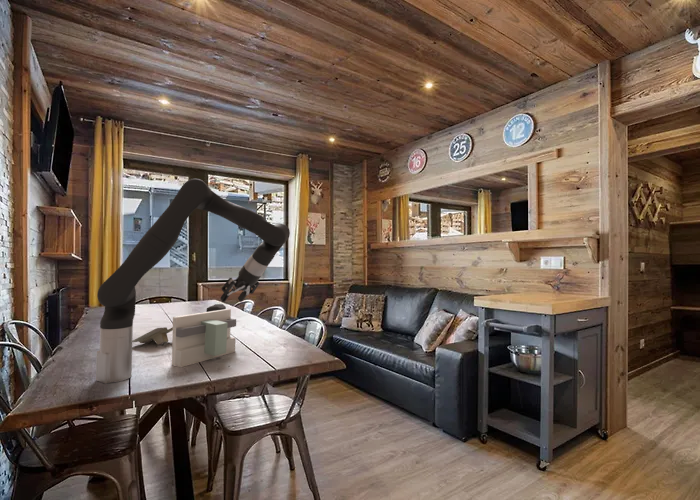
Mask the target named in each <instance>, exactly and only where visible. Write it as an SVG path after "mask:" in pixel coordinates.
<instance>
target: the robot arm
mask: <svg viewBox="0 0 700 500" xmlns="http://www.w3.org/2000/svg"><path fill="white" fill-rule="evenodd" d="M196 209H199V210H201V211H206V212H208V213H212V214H213V215H217V216H219V217H221V218H223V219H226V220H227V221H229V222H231V223H233V224H235V225H236V226H238V227H240V228H241V229H244V230H246V231H248V232H249V233H253V234H254V235H256V236H257V237H258V238H259V239H261V240H262V242H261V243H260V244H259V245H258V246H257V247H256V248H255V250H254V251H253V252H252V254H251V255H250V256H249V257H248V258H247V260H246V262H244V264H243V266H242V267H241V268H240V270H239V271H238V277H237V278H235V279H233V277H229V278H228V279H227V280H226V281H225V283H224V285H223V286H222V287H221V288H220V289H221V291H222V295H221V296H220V301H221V303H226V301H227V300H228V299H229V297H230V295H232V294H233V293H234V294H235V293H237V292H238V291H241V293H239V295H238V297H237V300H238V301H239V302H240V303H242V302H243V301H244V300H245V299H246V297H247V296H249V295H253V294H254V292H255V291H256V289H257V288H258V287H259V285H260V282H259V280H260V278H262V276H263V274H264V273H265V271H267V268H268V266H269V265H270V263H271V262H272V261H273V260H274V257H276V255H277V253H278V251H280V250H281V248H282V247H283V246H284V245H285V244H286V243H287V241H288V240H289V237H290V234H291V231H290V228H289V227H288V226H287V225H286V224H285V223H277V224H274V225H273V224H272V223H270V222H269V221H267V219H266V217H265V216H263V215H261V214H259V213H257V212H255V211H254V210H252V209H249V208H247V207H245V206H242V205H239V204H236V203H233V202H231V201H228V200H227V199H225V198H223V197H221V196H220V195H219V194H217V193H215V192H214V191H213V190H212V189H211V188H210V187H209V185H208V184H207V183H206V182H205V181H203V180H202V179H200V178H192V179H188V180H187V181H186V182H184V183H183V185H182V186H181V187H180V188H179V190H178V192H177V193H176V195H175V196H174V198H173V199H172V201H171V202H170V203H169V205H168V206H167V208H165V210H164V211H163V212H162V214H160V216H159V217H158V218H157V219H156V221H155V222H154V223H153V224H152V226H150V228H149V229H148V230H147V231H146V233H144V234H143V236H142V237H141V238H140V240H139V241H138V242H137V243H136V245H135V246H134V248H133V249H132V250H131V252H130V253H129V254H128V255H127V257H126V259H125V260H124V261H123V262H122V264H121V265H120V266H119V267H118V268H117V269H116V270H115V271H114V272H113V273H112V274H111V275H110V276H108V278H107V279H106V280H105V281H103V282H102V284H101V285H100V286H99V288H98V290H97V300H98V303H99V304H100V305H102V306H103V307H104V311H103V315H102V316H101V319H100V322H99V350H97V351H96V356H95V357H96V360H95V361H96V362H95V363H96V364H95V381H97V382H99V383H102V384H110V383H117V382H121V381H125V380H128V379H130V378H131V377H132V375H133V373H132V371H133V342H132V341H133V333H134V332H133V331H134V329H133V328H134V327H133V325H134V319H135V314H136V302H137V301H136V300H137V292H136V291H137V289H136V286H137V284H138V283H139V281H140V280H141V279H142V278H143V277H144V276H145V275H146V274H147V273H148V272H149V271H151V270H152V269H153V268H154V267H155V266H156V265H157V264H158V263H159V262H160V261H161V260H162V259H164V257H166V255H168V253H169V252H170V251H171V249H172V248H173V247H174V245H175V244H176V243H177V241H178V239H179V237H180V235H181V232H182V231H183V228H184V224H186V223H185V222H186V221H187V219H188V218H189V217H190V215H192V213H193V212H194V211H195V210H196Z"/></svg>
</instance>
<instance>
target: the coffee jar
mask: <svg viewBox="0 0 700 500" xmlns="http://www.w3.org/2000/svg"><path fill="white" fill-rule="evenodd" d="M224 309H227V307H226V306H225V305H224V304H222V303H216V304H215V303H214V304H213V305H210V306H209V307H207V308H206V312H210V311H217V310H224Z"/></svg>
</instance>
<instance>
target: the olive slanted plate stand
mask: <svg viewBox="0 0 700 500" xmlns="http://www.w3.org/2000/svg"><path fill="white" fill-rule="evenodd" d="M171 332H173V326H172V327H170V328H169V329H168V327H166V326H165V327H157V328H155V329H152V330H151V331H148V332H146V333H145V334H142V335H141V336H139V337H138V338H136V339H132V343H139V344H147V343H149V342H152V341H154V342H155V344H156V345H157V346H160V345H164V344H166V343H168V342H169V338H168V334H169V333H171Z"/></svg>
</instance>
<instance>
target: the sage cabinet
mask: <svg viewBox="0 0 700 500" xmlns="http://www.w3.org/2000/svg"><path fill="white" fill-rule="evenodd" d="M201 325H206V331H205V351H204V353H206V354H210V355H213V356H216V355H220V354H224V353H226V344H227V325H228V323H226V322H222V321H217V320H213V319H212V320H207V321H201Z"/></svg>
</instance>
